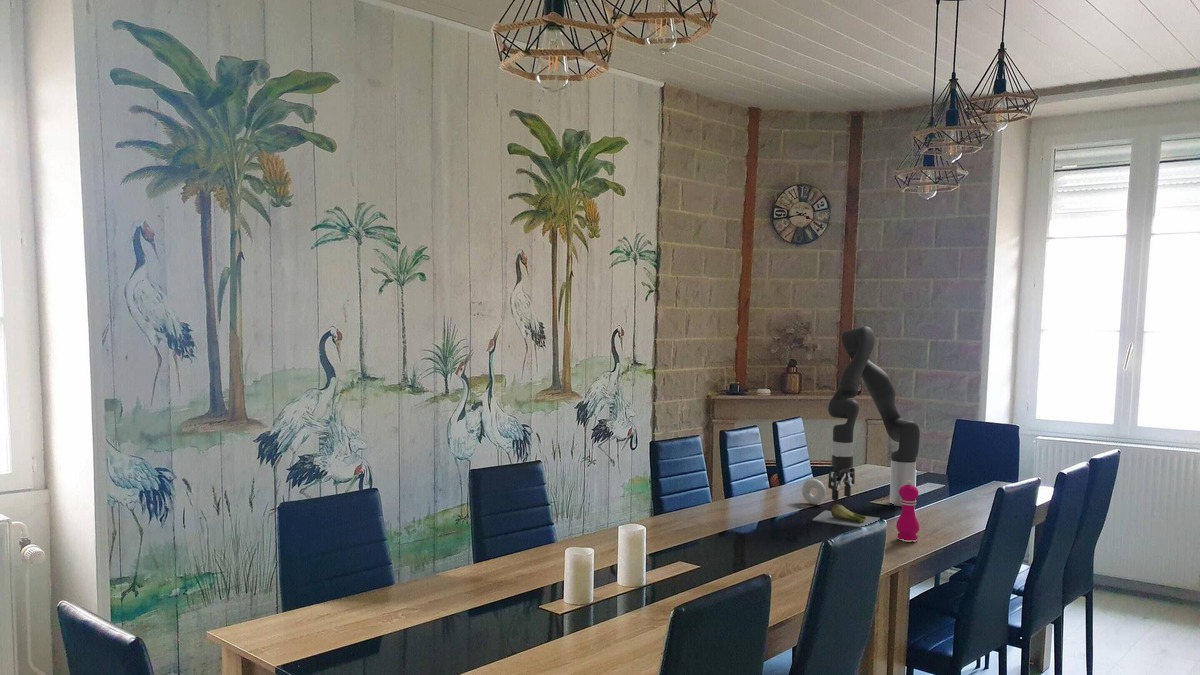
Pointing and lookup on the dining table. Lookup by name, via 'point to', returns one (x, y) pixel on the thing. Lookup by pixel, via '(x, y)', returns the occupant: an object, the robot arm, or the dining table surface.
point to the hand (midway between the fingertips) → (841, 498)
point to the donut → (820, 491)
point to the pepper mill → (908, 513)
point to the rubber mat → (843, 520)
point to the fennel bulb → (846, 513)
